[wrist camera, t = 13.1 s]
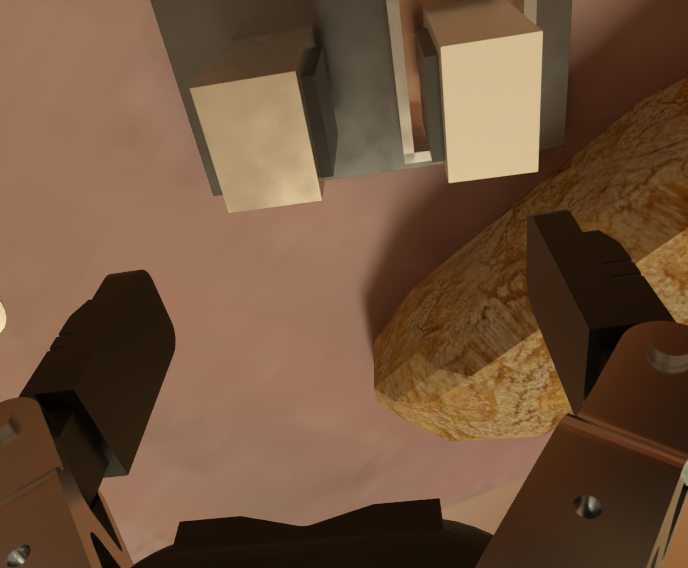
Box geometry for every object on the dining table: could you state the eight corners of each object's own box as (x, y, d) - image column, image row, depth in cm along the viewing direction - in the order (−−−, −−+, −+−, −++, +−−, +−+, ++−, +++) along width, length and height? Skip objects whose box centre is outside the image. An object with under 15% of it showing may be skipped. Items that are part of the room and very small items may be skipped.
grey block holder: (156, -12, 32) (79, 28, 23) (567, -89, 29) (651, -76, 21) (218, 185, 39) (176, 273, 30) (557, 137, 36) (617, 218, 27)
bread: (434, 410, 51) (447, 512, 42) (341, 344, 47) (336, 442, 38) (876, 111, 35) (1033, 182, 27) (792, -28, 31) (947, 6, 23)
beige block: (499, -6, 30) (542, 30, 23) (500, 107, 34) (537, 171, 26) (411, 8, 31) (425, 49, 23) (420, 119, 34) (435, 184, 27)
